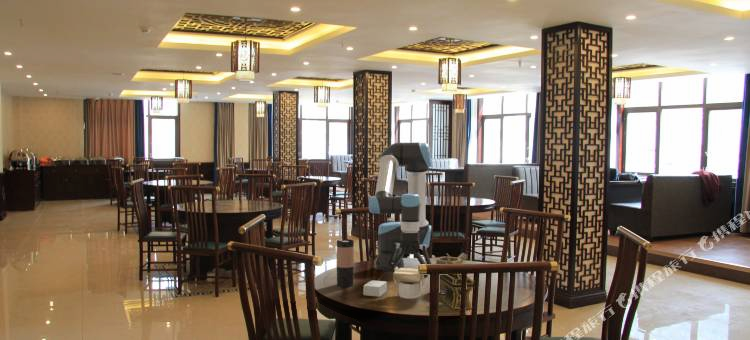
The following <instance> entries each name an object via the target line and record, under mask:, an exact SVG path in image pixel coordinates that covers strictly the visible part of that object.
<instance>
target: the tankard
mask: <svg viewBox="0 0 750 340" xmlns="http://www.w3.org/2000/svg"><path fill="white" fill-rule="evenodd" d="M466 255H467V254H466V253H464V252H462V253H460V255H458V256H457V257H453V256H450V259H451V263H450V264H452V262H455V263H456V264H457V263H459V262H460V261H461V260H463V259H465V257H466ZM435 260H436V261H435V264H446V263H447V261H448V256H440V257H437V258H435ZM461 263H462V264H463V261H462V262H461ZM440 293H444V294H445V286H444V284H443V282H442V281H441V279H440Z"/></svg>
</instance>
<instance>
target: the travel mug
mask: <svg viewBox="0 0 750 340" xmlns="http://www.w3.org/2000/svg"><path fill="white" fill-rule="evenodd" d="M354 241H355V240H353V239H351V238H350V239H349V238H347V239H345V238H344V239H342V240H339V239H337V240H336V285H337V287H340V288H349V287H350V286H351V287H353V286H354V275H355V274H354V271H355V270H354V269H355V263H354V261H355V258H354V257H355V253H354V252H355V251H354V249H355V247H354V245H355V244H354V243H355V242H354Z"/></svg>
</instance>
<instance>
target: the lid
mask: <svg viewBox="0 0 750 340" xmlns="http://www.w3.org/2000/svg"><path fill="white" fill-rule="evenodd" d="M418 269H419V268H413V267H411V268H410V267H404V268H399V269H398V270H397V271H395V272H394V273H393V275H392V281H398V282H399V281H405V282H417V283H419V282H420V283H422V275H419V273H418Z"/></svg>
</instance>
